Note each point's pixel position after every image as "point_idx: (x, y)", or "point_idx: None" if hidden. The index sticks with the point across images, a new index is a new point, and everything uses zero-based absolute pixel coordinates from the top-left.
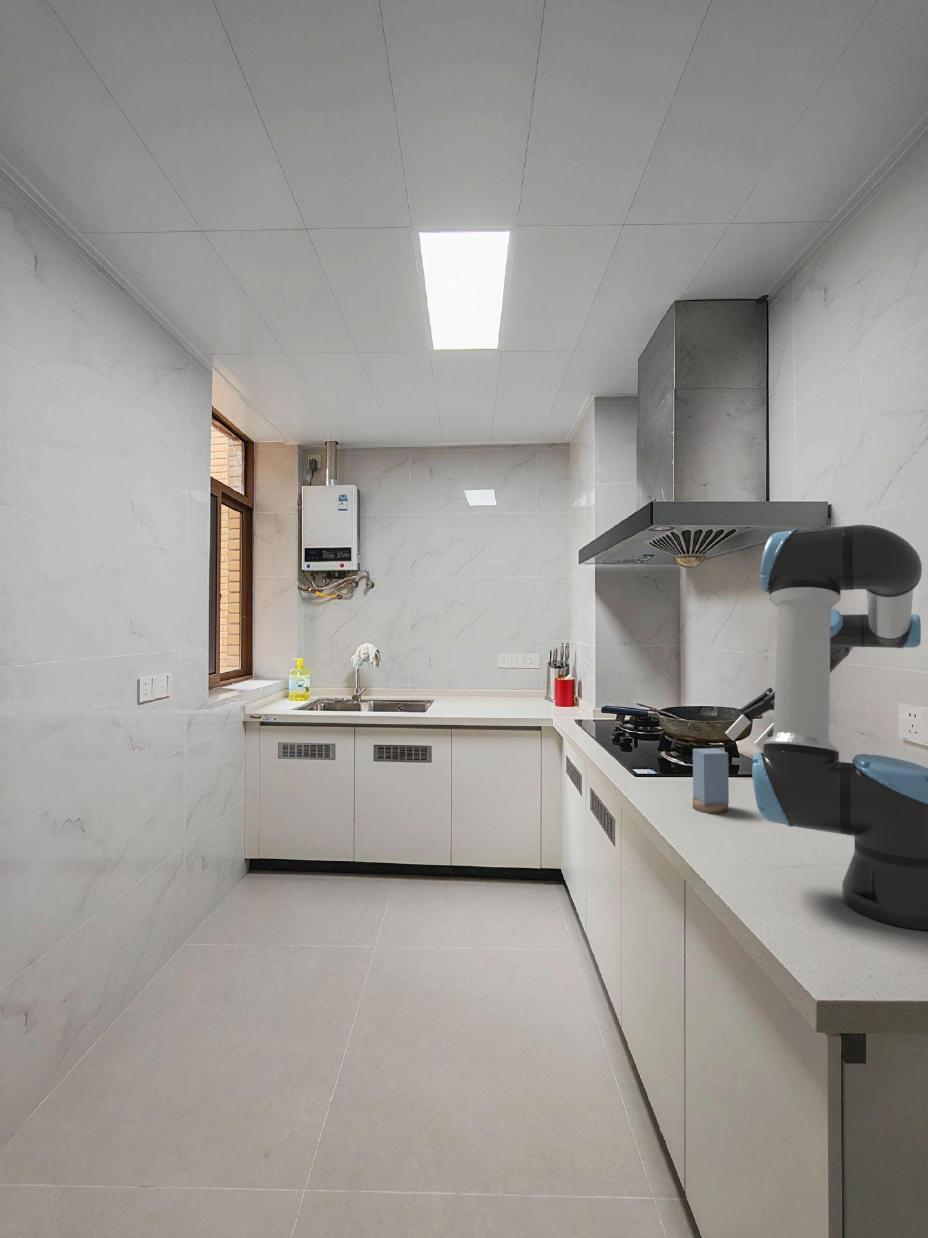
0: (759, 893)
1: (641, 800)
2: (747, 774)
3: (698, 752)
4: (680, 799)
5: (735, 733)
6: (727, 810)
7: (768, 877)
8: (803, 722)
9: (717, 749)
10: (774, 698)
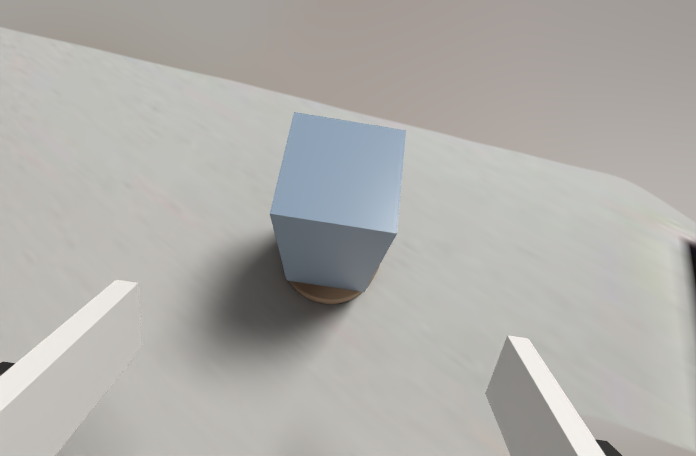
0: None
1: (440, 142)
2: None
3: (348, 124)
4: (436, 235)
5: (509, 410)
6: (291, 284)
7: None
8: None
9: (366, 220)
10: None
